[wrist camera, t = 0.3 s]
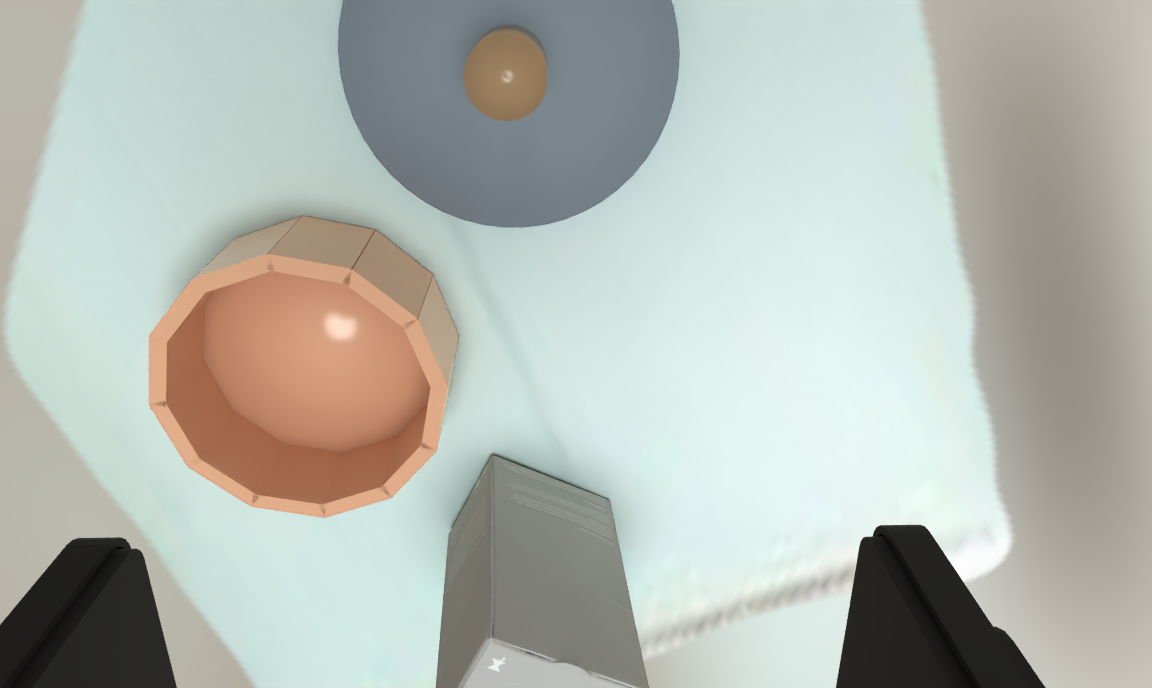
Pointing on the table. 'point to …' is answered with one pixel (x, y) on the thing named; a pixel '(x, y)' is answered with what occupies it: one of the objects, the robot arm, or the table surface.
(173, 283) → the table surface
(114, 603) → the robot arm
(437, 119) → the lid
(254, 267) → the bowl
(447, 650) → the skincare box
